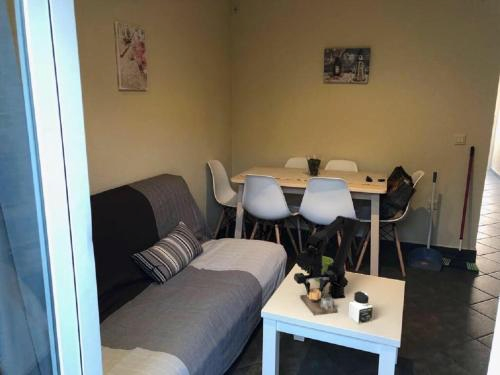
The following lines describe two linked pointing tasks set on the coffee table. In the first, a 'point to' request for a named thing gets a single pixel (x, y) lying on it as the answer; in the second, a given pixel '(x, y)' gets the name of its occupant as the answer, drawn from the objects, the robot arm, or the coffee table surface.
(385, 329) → the coffee table surface
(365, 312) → the medicine bottle
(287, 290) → the coffee table surface
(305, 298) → the gear board
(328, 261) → the plant pot
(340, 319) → the coffee table surface
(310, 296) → the orange gear
